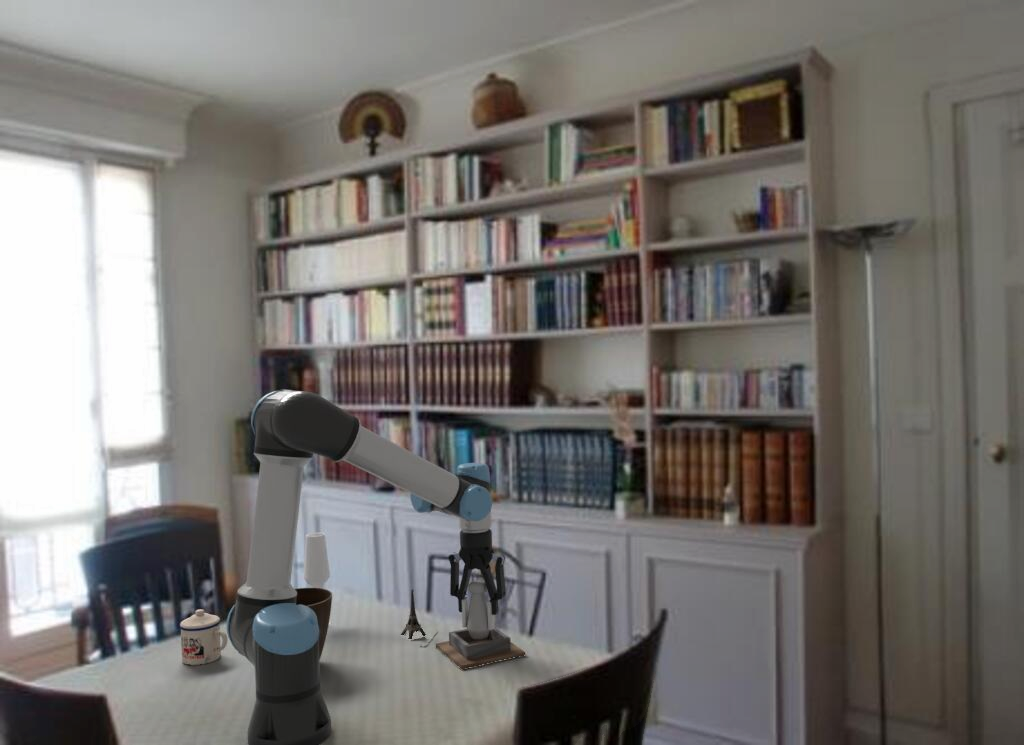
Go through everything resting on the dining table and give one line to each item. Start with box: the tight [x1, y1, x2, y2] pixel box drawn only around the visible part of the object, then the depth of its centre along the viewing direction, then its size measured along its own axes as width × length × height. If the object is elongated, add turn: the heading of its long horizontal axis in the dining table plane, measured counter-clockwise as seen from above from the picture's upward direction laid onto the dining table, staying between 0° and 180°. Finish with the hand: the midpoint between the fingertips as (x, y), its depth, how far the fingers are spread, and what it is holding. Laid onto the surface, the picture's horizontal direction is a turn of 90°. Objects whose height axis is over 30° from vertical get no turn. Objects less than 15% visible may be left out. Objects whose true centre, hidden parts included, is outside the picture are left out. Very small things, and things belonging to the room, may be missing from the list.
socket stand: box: [435, 626, 526, 670], centre depth 192 cm, size 16×16×4 cm
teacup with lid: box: [179, 609, 228, 666], centre depth 193 cm, size 12×9×12 cm
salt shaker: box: [466, 580, 490, 639], centre depth 192 cm, size 6×6×13 cm
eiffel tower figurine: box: [400, 588, 426, 639], centre depth 204 cm, size 15×10×13 cm
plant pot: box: [294, 587, 333, 662], centre depth 187 cm, size 15×15×16 cm
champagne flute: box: [303, 532, 332, 627], centre depth 215 cm, size 7×7×24 cm
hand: (478, 626), depth 192 cm, fingers closed on salt shaker, 6 cm apart
